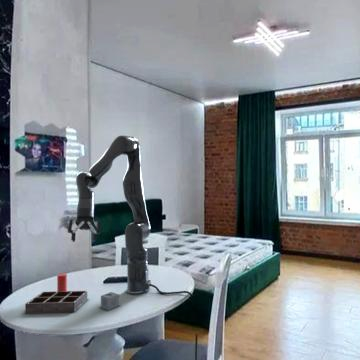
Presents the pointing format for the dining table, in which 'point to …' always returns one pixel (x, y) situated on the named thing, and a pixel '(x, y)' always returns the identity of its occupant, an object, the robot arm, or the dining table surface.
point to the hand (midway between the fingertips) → (83, 241)
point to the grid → (56, 302)
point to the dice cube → (109, 301)
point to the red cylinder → (62, 282)
